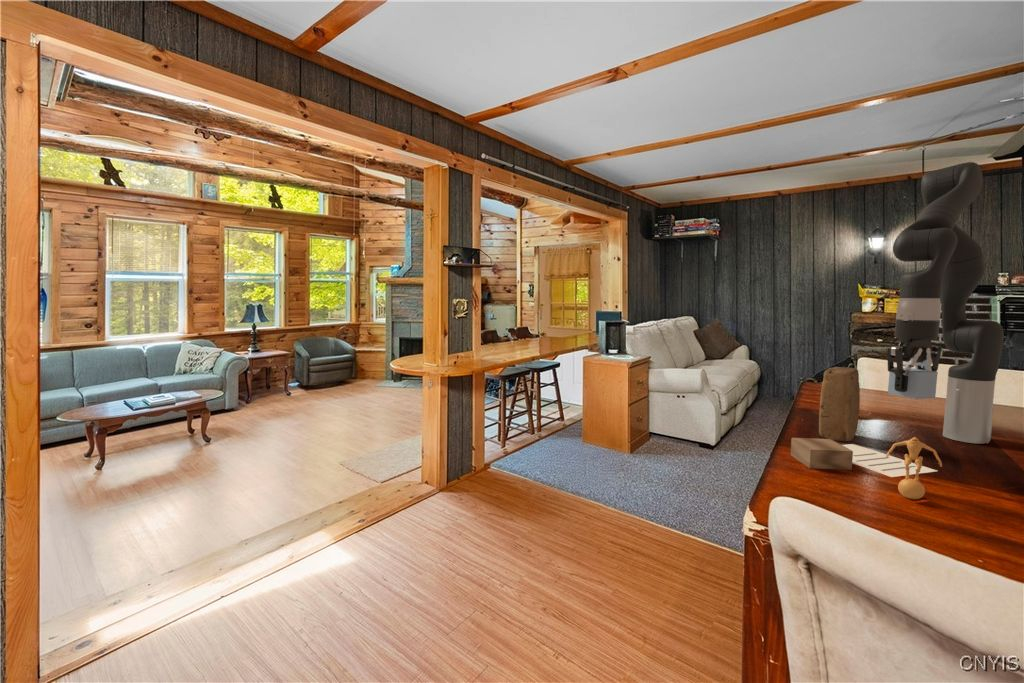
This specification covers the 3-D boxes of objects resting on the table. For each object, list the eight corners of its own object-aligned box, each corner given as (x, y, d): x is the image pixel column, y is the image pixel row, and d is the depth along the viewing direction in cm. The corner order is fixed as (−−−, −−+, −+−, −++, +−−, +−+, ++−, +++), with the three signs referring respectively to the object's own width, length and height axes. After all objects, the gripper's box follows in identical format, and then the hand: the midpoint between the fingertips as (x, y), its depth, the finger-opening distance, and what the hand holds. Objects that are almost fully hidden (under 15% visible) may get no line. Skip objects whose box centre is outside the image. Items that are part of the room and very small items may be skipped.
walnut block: (829, 458, 113) (830, 439, 112) (851, 472, 104) (853, 451, 103) (790, 457, 114) (791, 437, 113) (809, 470, 105) (810, 449, 104)
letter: (852, 444, 122) (853, 443, 122) (938, 472, 103) (938, 470, 103) (810, 449, 119) (811, 447, 119) (891, 478, 100) (891, 476, 100)
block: (846, 444, 122) (851, 371, 120) (814, 437, 128) (819, 368, 127) (860, 437, 129) (865, 367, 127) (830, 431, 135) (834, 364, 133)
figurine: (883, 496, 91) (887, 437, 90) (883, 486, 95) (888, 430, 94) (939, 508, 85) (945, 446, 84) (937, 497, 90) (943, 438, 89)
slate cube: (906, 392, 109) (908, 367, 109) (935, 397, 103) (937, 371, 103) (887, 393, 107) (889, 368, 107) (916, 399, 102) (918, 372, 101)
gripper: (921, 317, 109) (915, 386, 111) (877, 317, 105) (871, 388, 107) (959, 318, 102) (951, 392, 104) (913, 319, 98) (906, 395, 100)
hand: (910, 390), depth 105 cm, fingers closed on slate cube, 6 cm apart
